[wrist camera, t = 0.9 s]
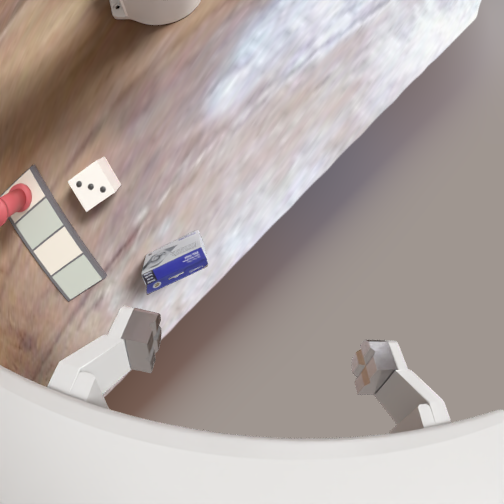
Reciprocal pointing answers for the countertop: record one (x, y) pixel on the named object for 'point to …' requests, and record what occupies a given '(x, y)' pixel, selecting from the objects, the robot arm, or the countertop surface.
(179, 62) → the countertop surface
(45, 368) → the countertop surface
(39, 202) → the game board
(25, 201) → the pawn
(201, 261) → the ink box
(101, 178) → the die
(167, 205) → the countertop surface
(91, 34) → the countertop surface
